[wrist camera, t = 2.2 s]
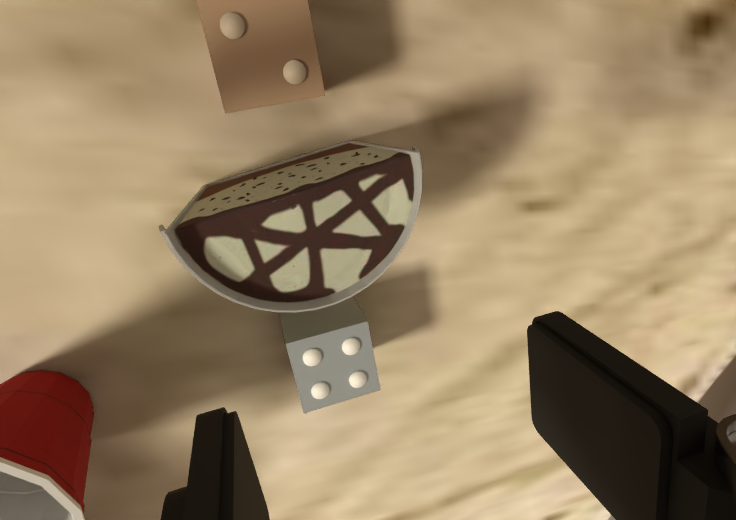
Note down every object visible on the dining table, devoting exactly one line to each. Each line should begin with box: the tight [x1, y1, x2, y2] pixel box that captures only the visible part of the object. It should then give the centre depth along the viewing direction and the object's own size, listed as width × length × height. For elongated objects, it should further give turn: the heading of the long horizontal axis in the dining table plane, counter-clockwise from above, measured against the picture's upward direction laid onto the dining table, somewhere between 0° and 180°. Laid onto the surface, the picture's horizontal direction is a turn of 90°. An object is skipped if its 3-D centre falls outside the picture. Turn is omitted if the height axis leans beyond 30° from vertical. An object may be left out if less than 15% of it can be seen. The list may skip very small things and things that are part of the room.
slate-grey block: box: [279, 296, 381, 413], centre depth 32 cm, size 5×5×5 cm
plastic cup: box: [0, 370, 94, 520], centre depth 25 cm, size 11×11×12 cm
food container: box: [159, 140, 423, 312], centre depth 26 cm, size 12×6×10 cm, turn 105°
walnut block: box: [196, 0, 325, 113], centre depth 25 cm, size 5×5×5 cm
